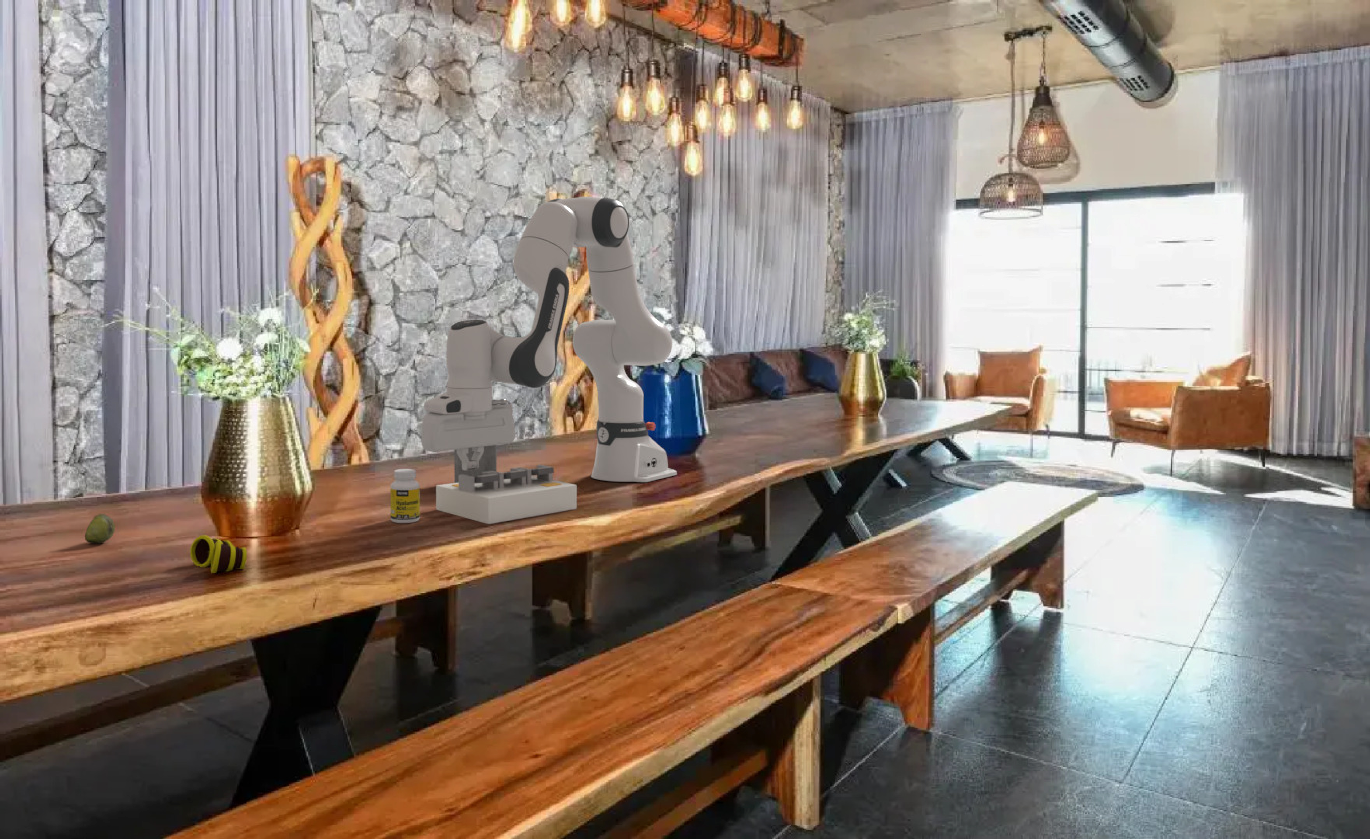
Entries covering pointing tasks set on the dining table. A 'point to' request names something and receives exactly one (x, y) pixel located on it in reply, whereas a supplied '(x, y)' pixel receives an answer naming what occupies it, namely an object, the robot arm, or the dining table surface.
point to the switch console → (506, 497)
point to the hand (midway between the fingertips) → (470, 469)
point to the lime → (100, 529)
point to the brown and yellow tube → (217, 554)
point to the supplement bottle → (405, 497)
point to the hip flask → (485, 463)
